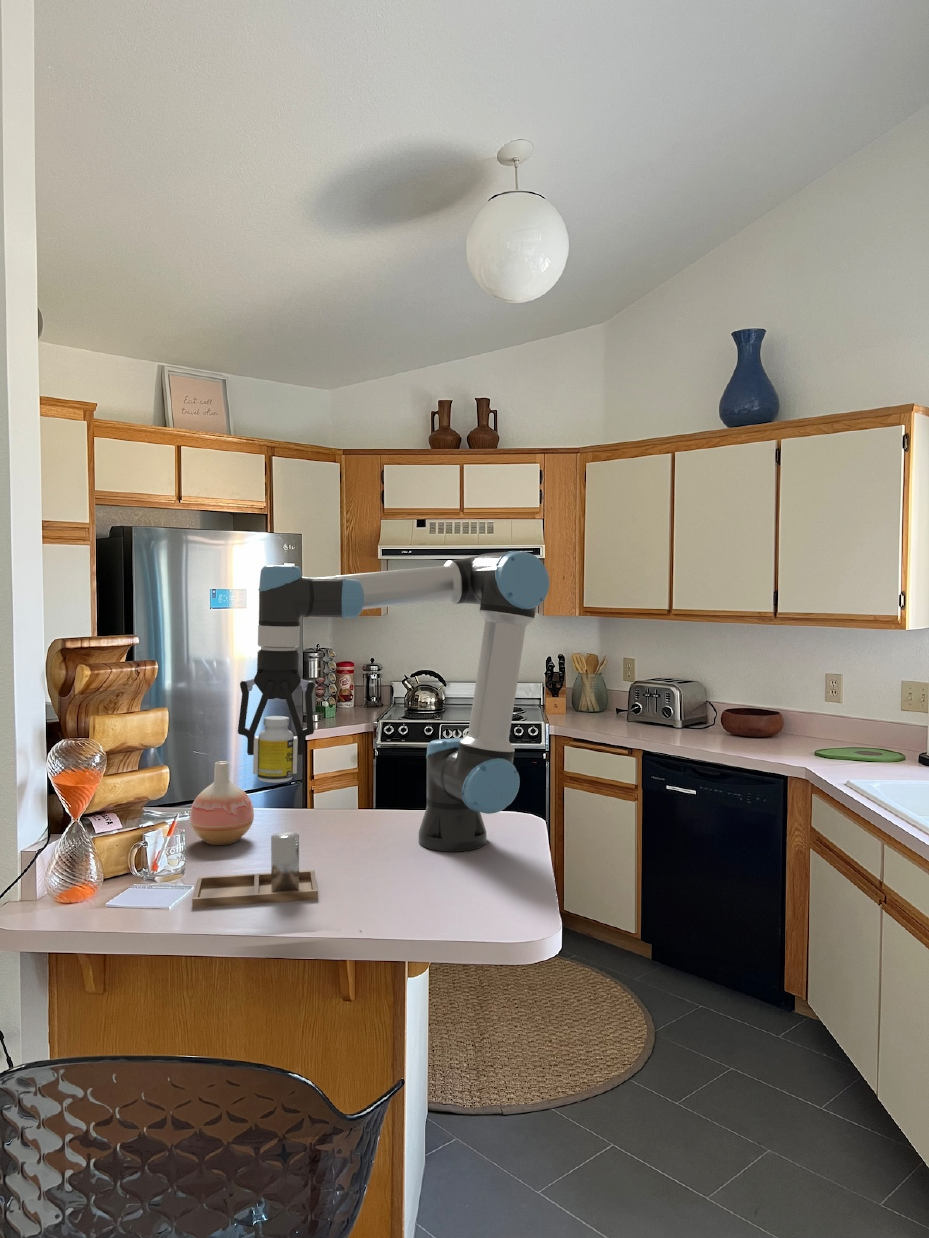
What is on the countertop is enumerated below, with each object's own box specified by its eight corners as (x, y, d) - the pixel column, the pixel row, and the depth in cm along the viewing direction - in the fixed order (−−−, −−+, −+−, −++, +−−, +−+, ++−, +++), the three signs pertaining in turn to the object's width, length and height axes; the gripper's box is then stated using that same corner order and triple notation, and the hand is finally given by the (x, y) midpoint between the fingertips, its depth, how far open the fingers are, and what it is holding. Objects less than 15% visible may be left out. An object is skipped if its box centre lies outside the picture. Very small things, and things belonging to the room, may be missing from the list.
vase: (220, 854, 187) (220, 771, 186) (176, 844, 194) (175, 764, 193) (266, 838, 198) (266, 760, 198) (223, 829, 206) (223, 754, 205)
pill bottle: (284, 784, 161) (285, 721, 161) (251, 781, 163) (252, 718, 162) (298, 777, 168) (299, 716, 167) (266, 775, 169) (267, 714, 169)
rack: (314, 883, 169) (314, 869, 169) (317, 905, 158) (317, 890, 158) (197, 891, 165) (197, 877, 165) (192, 914, 153) (192, 899, 153)
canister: (298, 884, 165) (298, 831, 165) (299, 893, 160) (299, 839, 160) (271, 886, 164) (271, 832, 164) (271, 895, 159) (271, 840, 159)
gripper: (330, 648, 170) (326, 767, 171) (225, 646, 166) (222, 768, 167) (332, 651, 163) (328, 775, 163) (223, 649, 159) (219, 776, 159)
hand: (275, 771), depth 165 cm, fingers closed on pill bottle, 6 cm apart
